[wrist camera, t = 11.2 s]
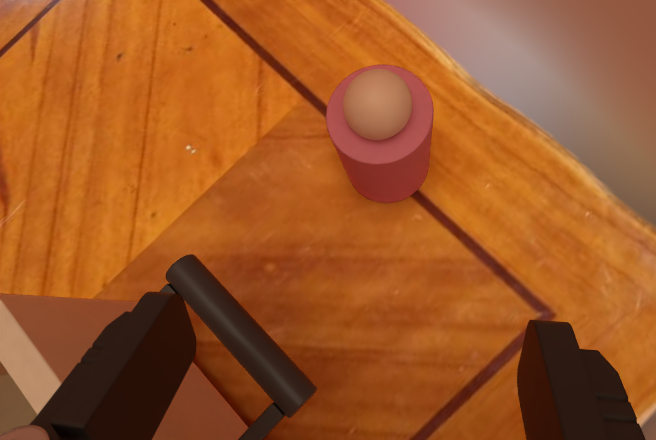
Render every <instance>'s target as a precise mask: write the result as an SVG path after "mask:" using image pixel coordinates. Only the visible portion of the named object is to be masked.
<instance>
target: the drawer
mask: <svg viewBox="0 0 656 440" xmlns="http://www.w3.org/2000/svg"><path fill="white" fill-rule="evenodd" d="M166 280H167V281H168V282H169V283H170V284H166V285H165V286H164V287H163V288H162V290H161V291H160V292H162V293H177V294H180V295H181V296H182V297H183V299H184V300H185V301H186V303H187V304H188V305H189V306H190V307H191V308H192V309H193V310H194V312H195V313H196V314H197V315H198V316H199V317H200V318H201V320H202V321H203V322H204V323H205V324H206V325H207V326H208V327H209V329H210V330H211V331H212V332H213V333H214V334H215V335H216V337H217V338H218V339H219V340H220V341H221V342H222V343H223V345H224V346H225V347H226V348H227V349H228V350H229V351H230V352H231V354H232V355H233V356H234V357H235V358H236V359H237V360H238V362H239V363H240V364H241V365H242V366H243V367H244V368H245V369H246V371H247V372H248V373H249V374H250V375H251V376H252V377H253V379H254V380H255V381H256V382H257V383H258V384H259V385H260V387H261V388H262V389H263V390H264V391H265V392H266V393H267V394H268V396H269V397H270V398H271V399H272V400H273V401H274V402H273V403H272V404H271V405H270V406H269V407H268V408H267V409H266V410H265V411H264V412H263V413H262V414H261V415H260V416H259V417H258V418H257V419H256V421H255V422H254V423H253V424H252V425H251V426H250V427H249V428H248V426H247V425H246V424H245V423H244V422H243V421H242V419H241V418H240V417H239V416H238V415H237V413H236V412H235V411H234V410H233V409H232V407H231V406H230V405H229V404H228V403H227V402H226V400H225V399H224V398H223V397H222V396H221V394H220V393H219V392H218V391H217V390H216V389H215V387H214V386H213V385H212V384H211V383H210V381H209V380H208V379H207V378H206V377H205V376H204V374H203V373H202V372H201V371H200V370H199V368H198V367H197V366H196V365H195V364H194V363H193V362H192V364H191V366H190V368H189V369H188V371H187V373H186V375H185V377H184V379H183V381H182V383H181V385H180V387H179V389H178V391H177V392H176V394H175V396H174V398H173V400H172V402H171V404H170V406H169V408H168V410H167V412H166V414H165V416H164V417H163V419H162V421H161V423H160V425H159V427H158V429H157V431H156V433H155V435H154V437H153V439H152V440H263V439H264V438H265V437H266V436H267V434H268V433H269V432H270V431H271V430H272V429H273V428H274V427H275V426H276V425H277V424H278V423H279V422H280V421H281V420H282V418H283V417H284V416H285V415H286V416H287V417H288V418H291V417H292V416H293V415H294V414H295V413H296V412H297V411H298V410H299V409H300V408H301V407H302V406H303V405H304V404H305V403H306V402H307V401H308V400H309V399H310V398H311V397H312V396H313V394H314V393H315V392H316V391H317V387H316V386H315V385H314V384H313V383H312V382H311V381H310V379H309V378H308V377H307V376H306V375H305V374H304V373H303V372H302V371H301V370H300V369H299V368H298V366H297V365H296V364H295V363H294V362H293V361H292V360H291V359H290V358H289V357H288V356H287V355H286V353H285V352H284V351H283V350H282V349H281V348H280V347H279V346H278V345H277V344H276V343H275V342H274V340H273V339H272V338H271V337H270V336H269V335H268V334H267V333H266V332H265V331H264V330H263V329H262V327H261V326H260V325H259V324H258V323H257V322H256V321H255V320H254V319H253V318H252V317H251V316H250V314H249V313H248V312H247V311H246V310H245V309H244V308H243V307H242V306H241V305H240V304H239V303H238V301H237V300H236V299H235V298H234V297H233V296H232V295H231V294H230V293H229V292H228V291H227V290H226V288H225V287H224V286H223V285H222V284H221V283H220V282H219V281H218V280H217V279H216V278H215V277H214V276H213V274H212V273H211V272H210V271H209V270H208V269H207V268H206V267H205V266H204V265H203V264H202V263H201V261H200V260H199V259H198V258H197V257H196V256H195V255H192V254H190V255H186V256H184V257H182V258H180V259H179V260H177V261H176V262H175V263H174V264H173V265H172V266H171V267H170V268H169V269H168V271H167V273H166ZM137 303H138V302H133V301H116V300H99V299H82V298H65V297H48V296H32V295H15V294H0V435H1V434H2V433H4V432H6V431H8V430H11V429H13V428H16V427H20V426H24V425H29V424H30V423H31V422H32V421H33V420H34V419H35V418H36V416H37V415H38V414H39V412H40V411H41V410H42V409H43V407H44V406H45V405H46V403H47V402H48V401H49V399H50V398H51V397H52V396H53V394H54V393H55V392H56V390H57V389H58V388H59V387H60V385H61V384H62V383H63V381H64V380H65V379H66V377H67V376H68V375H69V374H70V372H71V371H72V370H73V368H74V367H75V366H76V365H77V363H80V362H81V358H82V357H83V355H84V354H85V353H86V352H87V350H88V349H89V348H92V344H93V343H94V341H95V340H96V339H97V337H98V336H99V335H100V333H101V332H102V331H103V330H104V328H105V327H106V326H107V325H108V324H110V323H111V322H112V321H114V320H115V319H116V318H118V317H119V316H120V315H122V314H123V313H124V312H125V311H128V312H131V311H132V310H133V309H134V307H135V306H136V305H137Z"/></svg>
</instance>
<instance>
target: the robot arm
mask: <svg viewBox="0 0 656 440" xmlns="http://www.w3.org/2000/svg"><path fill="white" fill-rule="evenodd" d="M195 352H196V336H195V333H194V330H193V327H192V324H191V321H190V318H189V315H188V312H187V309H186V306H185V303H184V300H183V297H182V296H181V295H180V294H177V293H162V292H147V293H146V294H145V295H144V296H143V297H142V298H141V299H140V301H139V302H138V303H137V305H136V306H135V307H134V309H133V310H132V311H131V312H128V311H125V312H124V313H123V314H122V315H120V316H119V317H118V318H116V319H115V320H114V321H112V322H111V323H110V324H108V325H107V326H106V327H105V328H104V330H103V331H102V332H101V333H100V335H99V336H98V337H97V339H96V340H95V341H94V343H93V344H92V348H89V349H88V350H87V352H86V353H85V354H84V355H83V357H82V358H81V362H80V363H77V365H76V366H75V367H74V368H73V370H72V371H71V372H70V374H69V375H68V376H67V377H66V379H65V380H64V381H63V383H62V384H61V385H60V387H59V388H58V389H57V390H56V392H55V393H54V394H53V396H52V397H51V398H50V399H49V401H48V402H47V403H46V405H45V406H44V407H43V409H42V410H41V411H40V412H39V414H38V415H37V416H36V418H35V419H34V420H33V421H32V422H31V423H30V424H29V425H24V426H20V427H16V428H13V429H11V430H8V431H6V432H4V433H2V434H1V435H0V440H152V439H153V437H154V435H155V433H156V431H157V429H158V427H159V425H160V423H161V421H162V419H163V417H164V416H165V414H166V412H167V410H168V408H169V406H170V404H171V402H172V400H173V398H174V396H175V394H176V392H177V391H178V389H179V387H180V385H181V383H182V381H183V379H184V377H185V375H186V373H187V371H188V369H189V368H190V366H191V364H192V362H193V359H194V356H195ZM517 387H518V396H519V402H520V407H521V412H522V418H523V423H524V428H525V434H526V439H527V440H645V437H644V435H643V432H642V430H641V428H640V425H639V424H637V421H636V419H637V418H636V415H635V413H634V411H633V408H632V406H631V403H630V402H628V396H627V394H626V391H625V389H624V386H623V384H622V381H621V379H620V376H619V374H618V372H617V371H616V370H615V369H614V368H613V367H612V366H611V364H610V363H609V362H608V361H607V360H606V359H605V358H604V357H603V356H602V355H601V353H600V352H599V351H597V350H584V349H580V348H579V346H578V343H577V340H576V337H575V334H574V331H573V329H572V326H571V325H570V324H569V323H568V322H556V321H542V320H530V321H529V322H528V325H527V329H526V334H525V338H524V343H523V347H522V352H521V356H520V360H519V365H518V373H517Z"/></svg>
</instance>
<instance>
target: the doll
mask: <svg viewBox="0 0 656 440" xmlns="http://www.w3.org/2000/svg"><path fill="white" fill-rule="evenodd" d="M433 110H434V109H433V102H432V99H431V95H430V93H429V91H428V89H427V88H426V86H425V85H424V83H423V82H422V81H421V80H420V79H419V78H418V77H417V76H415V75H414V74H412V73H411V72H409V71H407V70H405V69H403V68H400V67H397V66H392V65H374V66H369V67H365V68H362V69H360V70H358V71H356V72H354V73H352V74H351V75H349V76H348V77H346V78H345V79H344V80H343V81H342V82H341V83H340V84H339V85H338V87H337V88H336V89H335V91H334V92H333V94H332V96H331V98H330V100H329V103H328V107H327V112H326V123H327V128H328V132H329V135H330V137H331V139H332V142H333V144H334V146H335V148H336V150H337V153H338V155H339V157H340V159H341V161H342V163H343V166H344V168H345V170H346V172H347V174H348V177H349V179H350V181H351V183H352V185H353V186H354V187H355V189H356V190H357V191H358V192H359V193H360V194H362V195H363V196H364V197H366V198H368V199H370V200H373V201H376V202H381V203H392V202H397V201H400V200H403V199H405V198H407V197H409V196H411V195H412V194H413V193H415V192H416V191H417V190H418V189H419V187H420V186H421V185H422V183H423V182H424V180H425V178H426V175H427V172H428V166H429V156H430V145H431V135H432V125H433Z"/></svg>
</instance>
